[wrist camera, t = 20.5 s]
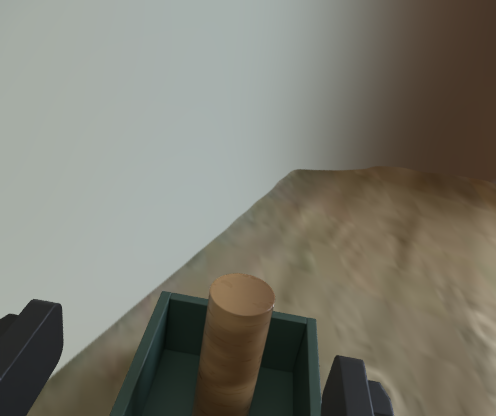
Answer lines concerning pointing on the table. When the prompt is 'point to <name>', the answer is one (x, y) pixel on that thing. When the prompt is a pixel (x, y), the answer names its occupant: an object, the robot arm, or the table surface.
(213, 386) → the wooden cylinder
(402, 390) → the table surface
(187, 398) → the bin
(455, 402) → the table surface
